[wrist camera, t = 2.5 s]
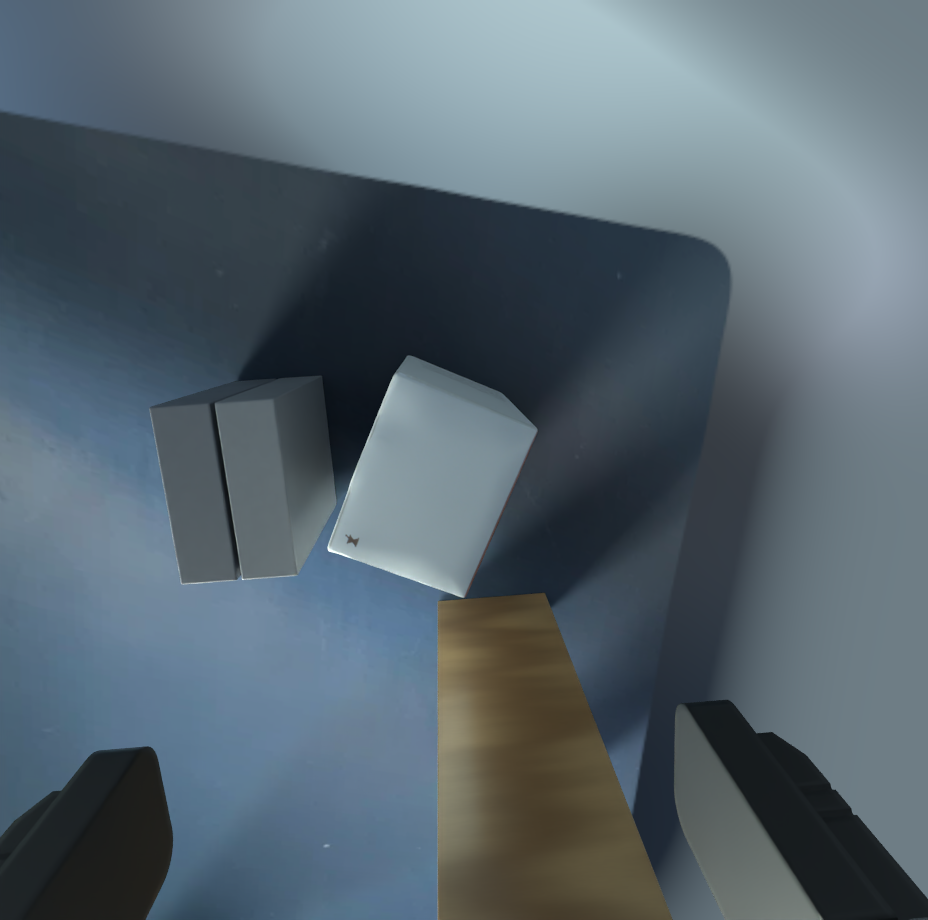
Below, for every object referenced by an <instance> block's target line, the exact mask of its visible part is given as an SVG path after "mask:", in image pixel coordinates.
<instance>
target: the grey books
mask: <svg viewBox="0 0 928 920" xmlns="http://www.w3.org/2000/svg"><path fill="white" fill-rule="evenodd" d="M150 414H151V420H152V425H153V431H154V437H155V442H156V448H157V453H158V459H159V464H160V470H161V475H162V481H163V486H164V492H165V497H166V503H167V508H168V514H169V519H170V525H171V530H172V536H173V541H174V547H175V553H176V558H177V564H178V569H179V575H180V580H181V584H195V583H208V582H221V581H234V580H237V579H238V578H239V577H240V575H242V579H243V580H247V579H260V578H273V577H286V576H297V575H298V574H299V572H300V570H301V568H302V566H303V565H304V563H305V561H306V559H307V557H308V555H309V554H310V552H311V550H312V548H313V546H314V545H315V543H316V541H317V539H318V537H319V535H320V534H321V532H322V530H323V528H324V526H325V524H326V523H327V521H328V519H329V517H330V515H331V514H332V512H333V510H334V508H335V506H336V504H337V501H336V492H335V483H334V475H333V466H332V457H331V449H330V440H329V432H328V423H327V414H326V406H325V397H324V389H323V380H322V376H321V375H320V376H305V377H291V378H280V379H277V380H276V379H261V380H247V381H234V382H231V383H228V384H224V385H221V386H218V387H214V388H211V389H208V390H205V391H201V392H198V393H195V394H191V395H188V396H185V397H181V398H178V399H175V400H172V401H168V402H165V403H162V404H158V405H155V406H152V407H150Z"/></svg>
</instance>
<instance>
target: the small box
mask: <svg viewBox="0 0 928 920" xmlns="http://www.w3.org/2000/svg"><path fill="white" fill-rule="evenodd" d="M537 433H538V430H537V428H536V427H535V426H534V425H533V424H532V423H531V422H530V421H529V420H528V419H527V418H526V417H525V416H524V415H523V414H522V413H521V412H520V411H519V410H518V409H517V408H516V407H515V406H514V405H513V403H512V402H511V401H510V400H509V399H508V398H506V397H505V396H504V394H503V393H501V392H499V391H496V390H494V389H491V388H489V387H486V386H484V385H482V384H479V383H477V382H474V381H472V380H469V379H467V378H465V377H462V376H460V375H457V374H455V373H452V372H450V371H447V370H445V369H443V368H440V367H438V366H435V365H433V364H430V363H428V362H426V361H423V360H421V359H418V358H416V357H413V356H410V355H408V356H407V357H406V358H405V360H404V361H403V363H402V364H401V365H400V367H399V368H398V369H397V371H396V372H395V374H394V376H393V378H392V380H391V382H390V385H389V387H388V390H387V392H386V395H385V397H384V400H383V402H382V405H381V407H380V410H379V412H378V415H377V417H376V420H375V422H374V425H373V427H372V430H371V432H370V435H369V437H368V440H367V442H366V445H365V447H364V449H363V452H362V454H361V457H360V459H359V462H358V464H357V467H356V469H355V472H354V475H353V477H352V479H351V482H350V486H349V489H348V492H347V495H346V498H345V501H344V504H343V506H342V509H341V512H340V514H339V517H338V520H337V523H336V525H335V528H334V531H333V534H332V536H331V539H330V542H329V545H328V551H331V552H334V553H337V554H340V555H343V556H346V557H349V558H352V559H355V560H358V561H361V562H364V563H366V564H369V565H372V566H375V567H378V568H381V569H383V570H386V571H389V572H392V573H394V574H397V575H400V576H403V577H406V578H409V579H412V580H414V581H417V582H420V583H423V584H426V585H429V586H431V587H434V588H437V589H440V590H443V591H446V592H449V593H451V594H454V595H457V596H459V597H462V598H464V597H466V595H467V593H468V591H469V589H470V586H471V584H472V582H473V580H474V577H475V575H476V573H477V571H478V568H479V566H480V564H481V562H482V559H483V557H484V555H485V552H486V550H487V548H488V546H489V543H490V541H491V539H492V536H493V534H494V532H495V529H496V527H497V525H498V523H499V520H500V518H501V516H502V513H503V511H504V509H505V507H506V504H507V502H508V500H509V497H510V495H511V493H512V491H513V488H514V486H515V483H516V481H517V479H518V477H519V474H520V472H521V470H522V467H523V465H524V463H525V460H526V458H527V456H528V454H529V451H530V449H531V447H532V444H533V442H534V440H535V437H536V435H537Z"/></svg>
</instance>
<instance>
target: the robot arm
mask: <svg viewBox="0 0 928 920" xmlns="http://www.w3.org/2000/svg"><path fill="white" fill-rule="evenodd" d="M674 794H675V802H676V808H677V812H678V816H679V820H680V823H681V827H682V829H683V832H684V835H685V837H686V839H687V841H688V843H689V845H690V847H691V849H692V851H693V853H694V855H695V858H696V860H697V862H698V864H699V866H700V868H701V870H702V872H703V874H704V877H705V879H706V881H707V883H708V885H709V887H710V889H711V891H712V893H713V895H714V897H715V900H716V902H717V904H718V906H719V908H720V910H721V912H722V914H723V916H724V918H725V920H928V899H927V897H926V896H925V895H924V894H923V893H922V892H921V890H920V889H919V888H918V887H917V886H916V884H915V883H914V882H913V881H912V880H911V878H910V877H909V876H908V875H907V874H906V873H905V872H904V870H903V869H902V868H901V867H900V865H899V864H898V863H897V862H896V861H895V860H894V858H893V857H892V856H891V855H890V854H889V853H888V851H887V850H886V849H885V848H884V847H883V845H882V844H881V843H880V842H879V841H878V840H877V838H876V837H875V836H874V835H873V834H872V832H871V831H870V830H869V829H868V828H867V826H866V825H865V824H864V823H863V822H862V821H861V819H860V818H859V817H858V816H857V815H853V813H852V811H851V808H850V806H849V805H848V804H847V803H846V802H845V800H844V799H843V798H842V797H841V796H840V795H839V794H838V792H837V791H836V790H832V789H831V785H830V783H829V782H828V780H827V779H826V778H825V777H824V776H823V774H822V773H821V772H820V771H819V770H818V769H817V767H816V766H815V765H814V764H813V763H812V762H811V760H810V759H809V758H808V757H807V756H806V755H805V754H804V753H802V752H801V751H799V750H798V749H796V748H795V747H793V746H792V745H790V744H789V743H787V742H786V741H784V740H783V739H781V738H780V737H778V736H777V735H775V734H774V733H773V732H769V733H756V732H755V731H754V730H753V728H752V727H751V726H750V725H749V723H748V722H747V721H746V719H745V718H744V717H743V715H742V714H741V713H740V712H739V710H738V709H737V708H736V706H735V705H734V704H733V703H732V702H731V701H729V700H718V701H706V702H694V703H682V704H679V705H678V706H677V708H676V714H675V760H674ZM172 848H173V832H172V826H171V821H170V816H169V811H168V806H167V801H166V797H165V792H164V787H163V782H162V777H161V772H160V767H159V762H158V758H157V755H156V753H155V751H154V750H153V749H152V748H151V747H136V748H124V749H112V750H100V751H96V752H94V753H93V754H91V755H90V756H89V757H88V758H87V760H86V761H85V762H84V763H83V765H82V766H81V767H80V768H79V770H78V771H77V772H76V773H75V775H74V776H73V777H72V778H71V780H70V781H69V782H68V783H67V785H66V786H65V787H64V788H63V790H62V791H53V792H51V793H50V794H49V795H48V796H46V797H45V798H44V799H42V800H41V801H40V802H38V803H37V804H36V805H35V806H33V807H32V808H31V809H29V810H28V811H27V812H25V813H24V814H23V815H22V816H20V817H19V818H18V819H16V820H15V821H14V822H13V823H12V824H11V826H10V827H9V828H8V829H7V830H6V831H5V833H4V834H3V835H2V836H1V837H0V920H145V919H146V917H147V915H148V913H149V911H150V909H151V907H152V905H153V903H154V901H155V899H156V897H157V895H158V893H159V891H160V889H161V887H162V885H163V883H164V880H165V878H166V875H167V872H168V869H169V865H170V861H171V856H172Z"/></svg>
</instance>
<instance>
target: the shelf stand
mask: <svg viewBox="0 0 928 920" xmlns="http://www.w3.org/2000/svg"><path fill="white" fill-rule="evenodd" d="M438 920H672V917H671V914H670V912H669V909H668V907H667V904H666V902H665V899H664V896H663V894H662V891H661V889H660V886H659V884H658V881H657V878H656V876H655V873H654V871H653V868H652V866H651V863H650V861H649V858H648V856H647V853H646V850H645V848H644V846H643V843H642V840H641V838H640V835H639V833H638V830H637V827H636V825H635V822H634V820H633V817H632V815H631V812H630V809H629V807H628V804H627V802H626V799H625V797H624V794H623V792H622V789H621V786H620V784H619V781H618V779H617V776H616V774H615V771H614V768H613V766H612V763H611V761H610V758H609V756H608V753H607V751H606V748H605V745H604V743H603V740H602V738H601V735H600V733H599V730H598V728H597V725H596V722H595V720H594V717H593V715H592V712H591V710H590V707H589V705H588V702H587V699H586V697H585V694H584V692H583V689H582V687H581V684H580V682H579V679H578V676H577V674H576V671H575V669H574V666H573V664H572V661H571V659H570V656H569V653H568V651H567V648H566V646H565V643H564V641H563V638H562V635H561V633H560V630H559V628H558V625H557V623H556V620H555V618H554V615H553V612H552V610H551V607H550V605H549V602H548V600H547V597H546V595H545V593H537V594H524V595H511V596H498V597H486V598H473V599H460V600H447V601H438Z"/></svg>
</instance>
